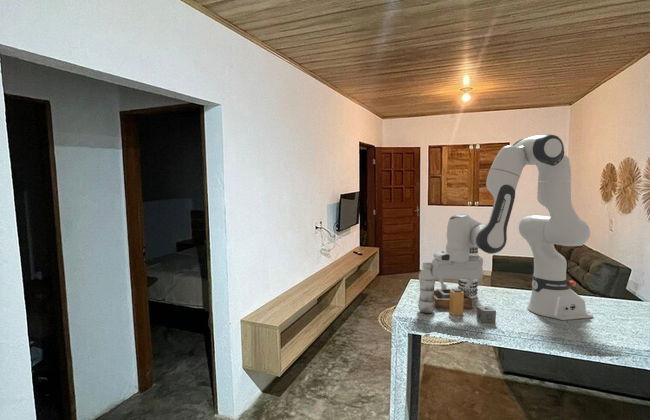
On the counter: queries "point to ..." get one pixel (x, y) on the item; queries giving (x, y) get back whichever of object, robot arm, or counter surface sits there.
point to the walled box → (448, 299)
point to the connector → (456, 301)
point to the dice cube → (486, 315)
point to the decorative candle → (462, 282)
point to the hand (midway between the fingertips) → (455, 289)
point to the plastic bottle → (426, 289)
